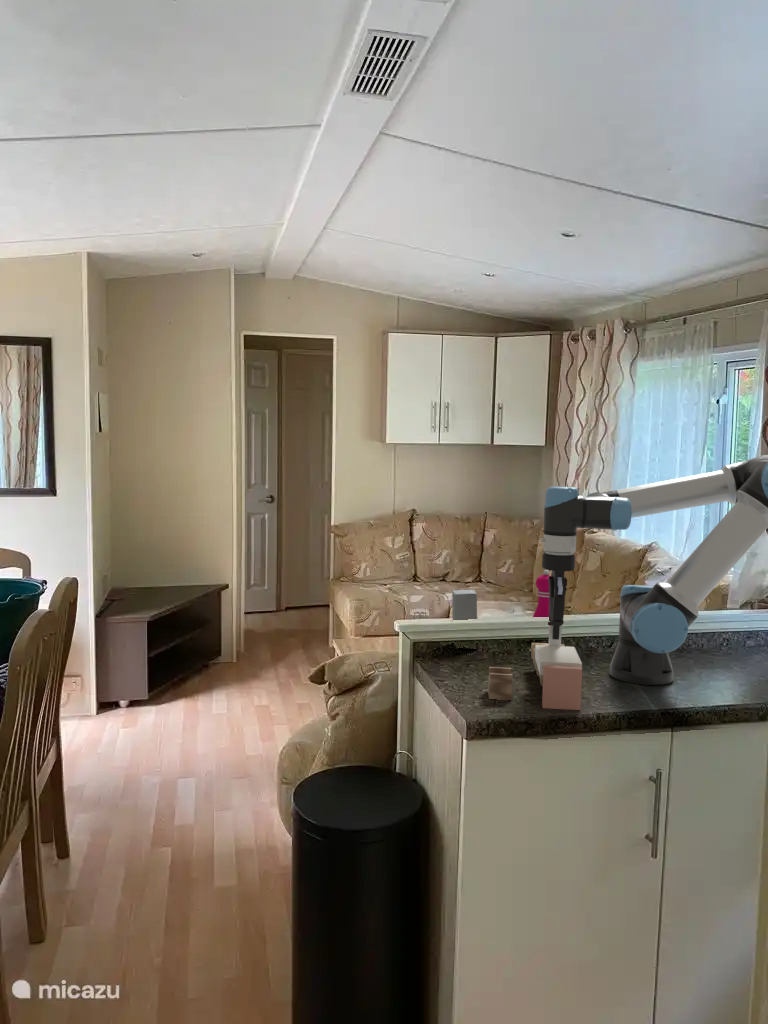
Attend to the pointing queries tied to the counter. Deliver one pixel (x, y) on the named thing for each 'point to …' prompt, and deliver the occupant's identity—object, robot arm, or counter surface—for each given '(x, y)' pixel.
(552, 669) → the block
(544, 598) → the pepper mill
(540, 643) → the roller bed
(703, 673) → the counter surface
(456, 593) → the skincare box
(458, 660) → the counter surface
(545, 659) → the slab
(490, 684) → the pedestal
